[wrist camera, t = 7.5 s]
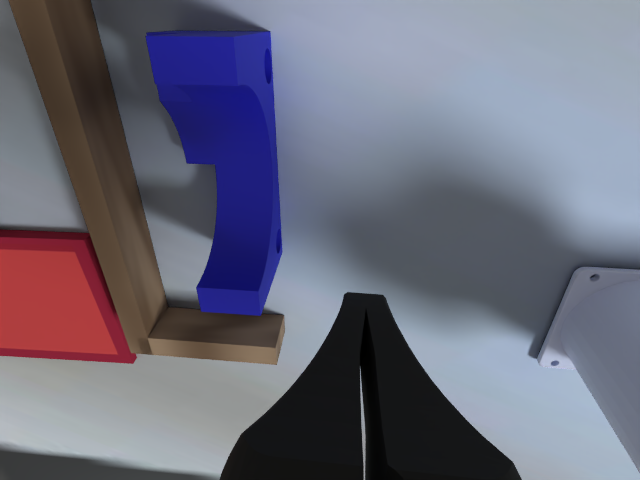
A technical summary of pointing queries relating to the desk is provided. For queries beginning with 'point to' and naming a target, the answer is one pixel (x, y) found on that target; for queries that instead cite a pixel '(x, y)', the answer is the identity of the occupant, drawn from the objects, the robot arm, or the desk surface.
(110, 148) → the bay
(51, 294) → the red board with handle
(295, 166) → the desk surface
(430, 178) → the desk surface
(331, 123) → the desk surface
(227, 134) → the blue curved bracket
